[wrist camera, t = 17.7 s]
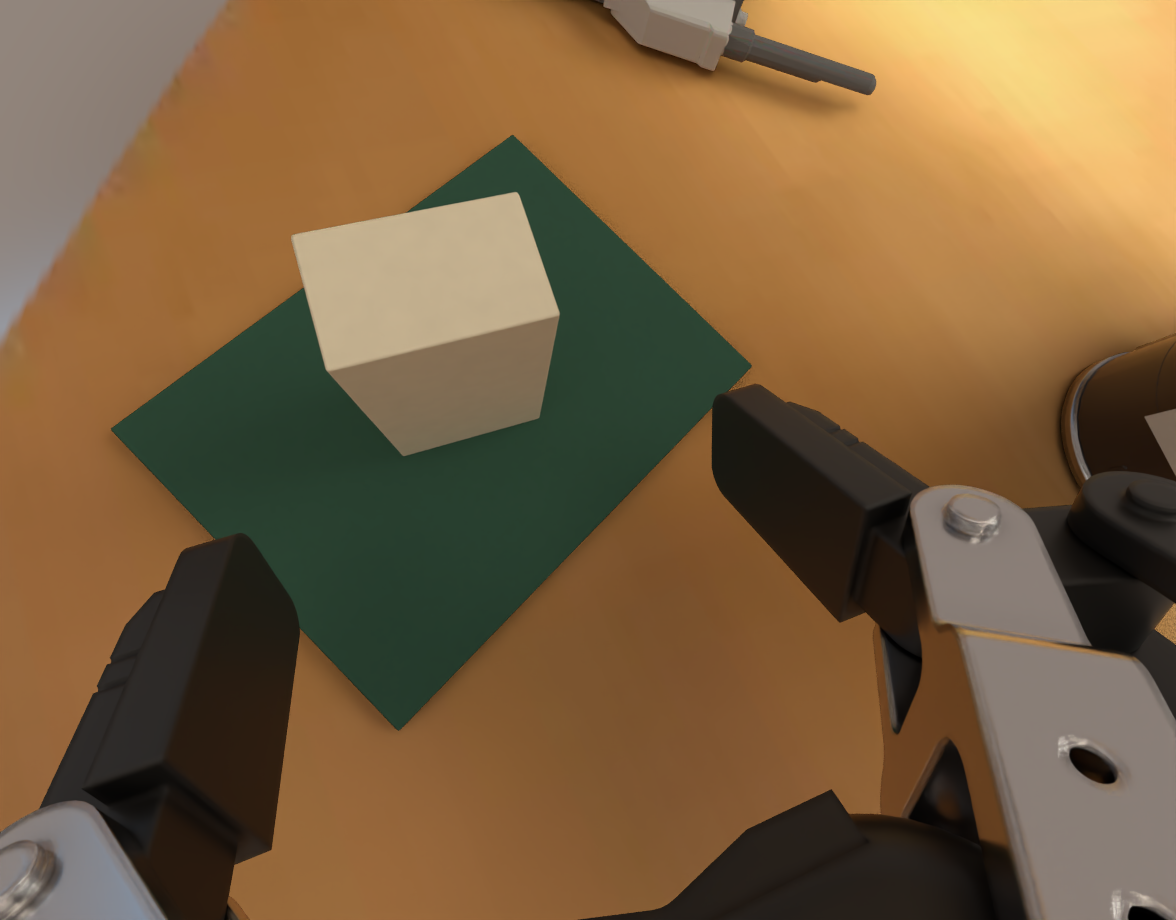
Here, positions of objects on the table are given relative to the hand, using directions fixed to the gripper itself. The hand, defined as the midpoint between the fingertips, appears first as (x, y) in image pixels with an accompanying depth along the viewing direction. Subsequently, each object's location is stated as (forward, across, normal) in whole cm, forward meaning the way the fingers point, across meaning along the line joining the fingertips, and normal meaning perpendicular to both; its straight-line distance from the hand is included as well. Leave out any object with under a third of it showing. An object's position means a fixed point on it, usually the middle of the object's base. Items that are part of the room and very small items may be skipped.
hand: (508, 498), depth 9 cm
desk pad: (+13, 0, +4) cm, 14 cm away
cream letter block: (+12, 0, +4) cm, 13 cm away
